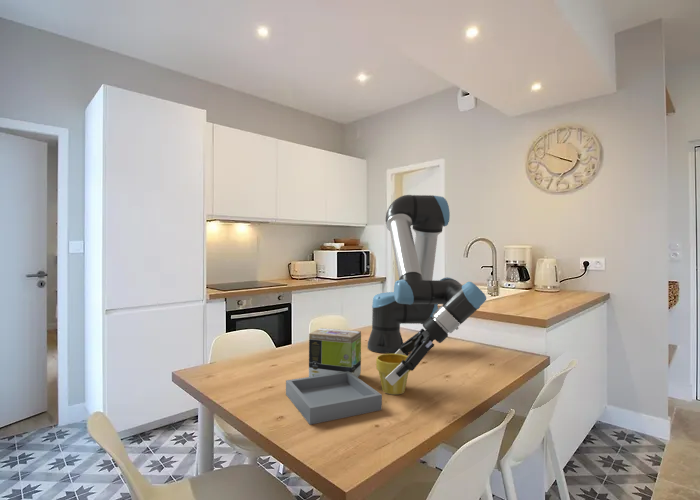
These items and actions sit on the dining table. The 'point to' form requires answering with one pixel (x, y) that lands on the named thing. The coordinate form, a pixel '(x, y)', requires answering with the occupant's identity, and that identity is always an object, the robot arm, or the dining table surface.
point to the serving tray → (332, 397)
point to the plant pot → (385, 367)
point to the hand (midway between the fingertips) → (388, 373)
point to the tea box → (334, 352)
